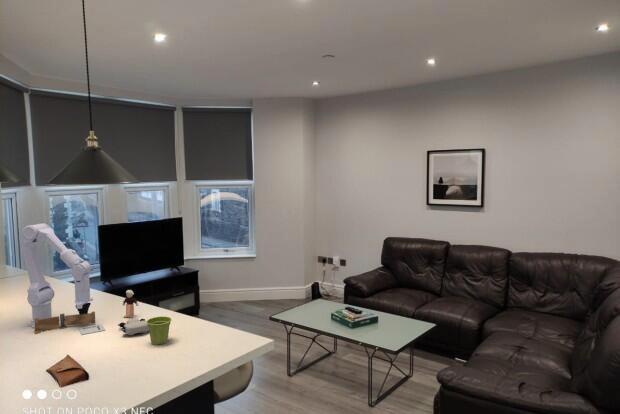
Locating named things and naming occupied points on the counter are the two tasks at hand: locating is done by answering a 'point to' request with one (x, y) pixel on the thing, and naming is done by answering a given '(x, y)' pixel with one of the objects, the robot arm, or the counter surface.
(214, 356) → the counter surface
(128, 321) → the robot toy
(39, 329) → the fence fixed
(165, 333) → the plant pot
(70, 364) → the sunglasses case
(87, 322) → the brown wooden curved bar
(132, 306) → the grandmother figurine
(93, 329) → the card
